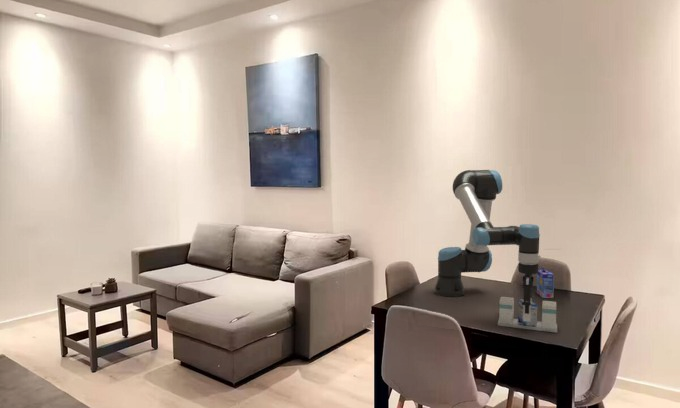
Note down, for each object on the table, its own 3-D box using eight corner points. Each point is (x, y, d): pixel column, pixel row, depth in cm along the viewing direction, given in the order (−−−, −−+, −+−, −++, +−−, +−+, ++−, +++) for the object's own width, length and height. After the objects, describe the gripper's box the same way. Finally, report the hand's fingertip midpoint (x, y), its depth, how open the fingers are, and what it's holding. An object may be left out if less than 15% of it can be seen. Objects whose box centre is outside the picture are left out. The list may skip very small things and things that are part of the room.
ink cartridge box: (535, 292, 238) (536, 265, 237) (547, 293, 238) (547, 265, 237) (542, 298, 229) (542, 269, 227) (553, 298, 228) (554, 269, 227)
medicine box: (517, 319, 192) (517, 299, 192) (527, 319, 193) (528, 298, 192) (526, 325, 185) (526, 304, 184) (537, 325, 185) (537, 304, 184)
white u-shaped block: (497, 325, 189) (498, 300, 189) (499, 319, 197) (500, 296, 196) (557, 332, 180) (557, 307, 179) (556, 326, 187) (557, 301, 187)
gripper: (537, 269, 175) (536, 326, 176) (539, 258, 195) (538, 310, 197) (516, 267, 178) (515, 324, 179) (520, 257, 198) (519, 308, 200)
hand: (527, 317), depth 188 cm, fingers open, 10 cm apart
